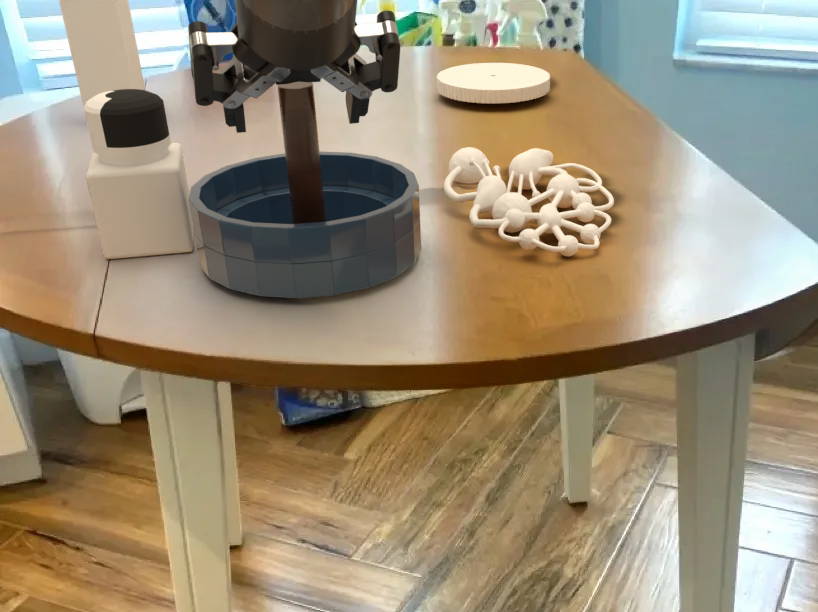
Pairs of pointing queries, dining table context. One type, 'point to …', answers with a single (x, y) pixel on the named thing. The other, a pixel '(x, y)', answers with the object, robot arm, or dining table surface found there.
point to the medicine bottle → (136, 177)
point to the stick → (302, 152)
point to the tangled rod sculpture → (516, 209)
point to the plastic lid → (493, 82)
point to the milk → (102, 46)
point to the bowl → (306, 227)
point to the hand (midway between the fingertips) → (296, 117)
